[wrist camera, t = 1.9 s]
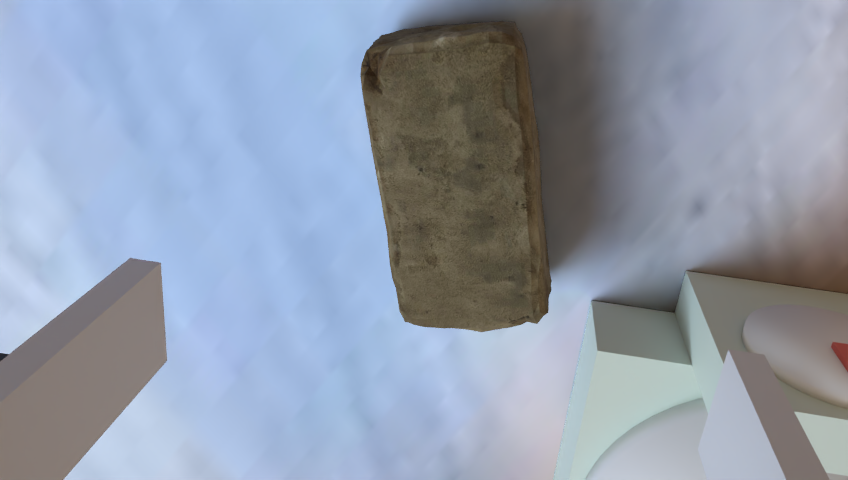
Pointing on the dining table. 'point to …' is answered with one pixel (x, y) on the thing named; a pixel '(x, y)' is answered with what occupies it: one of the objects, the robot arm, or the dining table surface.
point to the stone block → (459, 174)
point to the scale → (701, 376)
